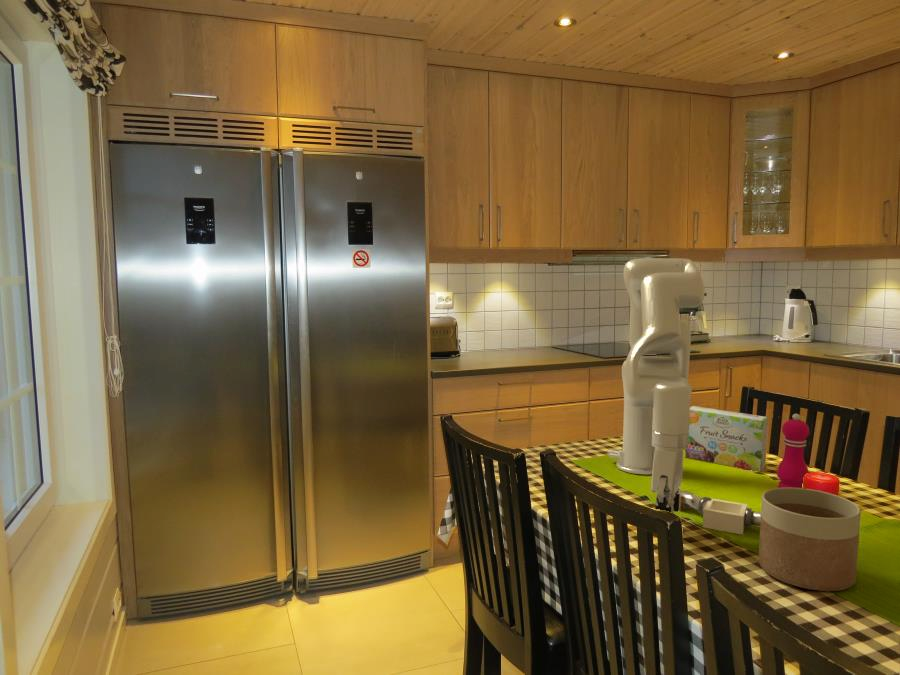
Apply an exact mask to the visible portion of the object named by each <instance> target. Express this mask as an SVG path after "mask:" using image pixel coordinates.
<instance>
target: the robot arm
mask: <svg viewBox="0 0 900 675" xmlns="http://www.w3.org/2000/svg"><path fill="white" fill-rule="evenodd" d="M623 281H624V285H625V289H626V291H627V294H628V298H629V302H630V303H629V304H630V307H629V308H630V309H629V311H630V312H629V329H628V343H629V347H630V350H629V352H628V355H627V357H626V359H625V360H624V361H623V363H622V366H621V378H622V388H623V421H622V422H623V425H622V426H623V430H622V449H619V450H616V449H612V448H609V449H608V450H607V456H609V458H611V459H617V461H616V467H617V469H619V470H621V471H622V472H626V473H630V474H635V475H651V483H650V486H651V487H650V491H651V493H656V500H655V504H654V505H655V507H654V510H655V509H660V510H666V511H669V512H671V507H670V502H671V496H672V495H674V494H675V495H676V496H675V498H674V499H673V501H674V504H673V508H674V512H679V494H677V493H679V489H680V487H681V485H682V482H683V481H682V480H683V468H684V465H683V464H684V451H685V449H688V441H689V418H690V407H691V401H692V395H693V394H692V393H693V392H692V391H693V389H692V384H691V383H690V382H689V374H690V373H689V370H690V358H691V357H690V356H691V345H692V344H691V343H692V335H691V333H692V332H691V328H690V325H689V323H688V322H687V321H686V320H684V319H680V318H681V317H680V308H685V309H686V308H687V309H688V308H689V309H690V308H691V309H692V308H694V309H695V308H699V307H700V306H701V305H702V304H703V303H704V299H705V294H706V293H705V282H704V278H703V276H702V274H701V272H700V271H699V269H698V267H697V266H696V264H695V262H694V261H693V260H692V259H689V258H671V257H670V258H660V257H657V258H655V257H649V258H647V257H645V258H634V259H631V260H629V261H627V262H626V263H625V265H624V267H623ZM645 354H670V355H671V356H655V355H654V356H647V355H646V356H645ZM665 490H666V491H669V492H665ZM665 496H668V498H667V499H666V497H665Z"/></svg>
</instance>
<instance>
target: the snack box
mask: <svg viewBox="0 0 900 675" xmlns="http://www.w3.org/2000/svg"><path fill="white" fill-rule="evenodd" d="M768 423H769V418H768V417H767V416H762V415H755V414H751V413H744V412H737V411H729V410H723V409H716V408H711V407H710V408H709V407H703V406H697V405H692V406H690V418H689V441H688V449H685V450H684V452H685V453H684V458H685V459H686V458H687V459H693V460H698V461H701V460H702V462H706V461H707V462H708V463H711V462H712V463H713V464H716V463H717V464H716V465H723V466H726V465H727V466H726V467H730V466H732V467H731V468H735V467H737V468H736V469H740V468H742V469H741V470H745V469H747V470H746V471H750V470H752V471H751V472H755V471H757V472H756V473H761V472H762V471H763V470H765V469H766V461H767V460H766V459H767V443H768V440H767V439H768V425H769V424H768Z"/></svg>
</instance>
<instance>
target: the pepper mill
mask: <svg viewBox="0 0 900 675" xmlns="http://www.w3.org/2000/svg"><path fill="white" fill-rule="evenodd" d="M781 430H782V431H781V432H782V434H783V435H784V437H783V444H784V445H785V450H784V454H783V455H784V456H783V457H782V459H781V461H780V463H779V464H778V467H777V470H776V476H777V477H778V479H779V481H778V484H777V485H778V486H777V488H802V483H803V477H804V475H805V474H806V473H809V474H810V472H809V468H808V465H807V464H806V462H805V457H804V449H805V447H806V446H807V437H808V436H809V434H810V427H809V425H808V424H807V423H806V422H805V421H804V420H801V415H800V414H798V413H794V414H792V419H787V421H785V422H784V423H783V425H782V428H781Z"/></svg>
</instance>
